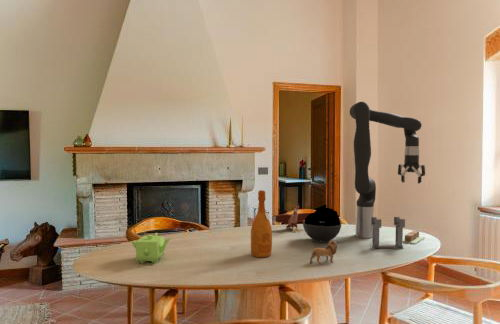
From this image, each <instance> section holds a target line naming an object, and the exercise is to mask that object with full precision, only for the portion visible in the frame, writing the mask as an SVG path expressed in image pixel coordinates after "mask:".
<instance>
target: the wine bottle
mask: <svg viewBox="0 0 500 324" xmlns="http://www.w3.org/2000/svg"><path fill="white" fill-rule="evenodd" d="M257 194H258V195H257V200H258V207H257V211H256V214H255V217H254V219H253V221H252V225H251V227H250V228H251V229H250V254H251V255H252V256H253V257H255V258H267V257H270V256H271V255H272V253H273V252H272V251H273V249H272V248H273V230H272V229H273V228H272V225H271V222H270V219H271V218H270V215H269V212H267V210H266V204H265V201H266V190H262V189H261V190H258V193H257Z"/></svg>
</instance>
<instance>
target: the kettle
mask: <svg viewBox="0 0 500 324" xmlns="http://www.w3.org/2000/svg"><path fill="white" fill-rule="evenodd" d="M172 239H173V238H170V237H169V238H166V239H165V236H164V235H158V232H155V233H154V234H147V235H143V236H142V237H140V238H139V239H138V240H137V241H136V240H132V241H130V243H131V245H132V246H133V247H134V249H135V261H136V262H137V261H138V262H139V264H144V263H146V262H151V263H152V264H157V263H158V261H159V260H161V259H162V257H163V256H164V254H165V250H166V248H167V245H168V242H170V240H172Z"/></svg>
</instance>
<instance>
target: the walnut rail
mask: <svg viewBox="0 0 500 324" xmlns="http://www.w3.org/2000/svg"><path fill="white" fill-rule="evenodd" d="M419 236H420V231H419V230H412V231H410V232H408V233H407V234H405V235H404V238H405V241H408V242H411V241H413V240H414V239H416V238H418V237H419Z"/></svg>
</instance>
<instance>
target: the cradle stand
mask: <svg viewBox="0 0 500 324" xmlns="http://www.w3.org/2000/svg"><path fill="white" fill-rule="evenodd" d="M393 217H394V218H393V226H395V244H380V229H381V228H382V219H381V218H378V217H377V216H374V217H371V225H372V226H373V237H372V238H371V239H372V241H371V242H372V245H371V249H373V250H387V249H388V250H389V249H390V250H392V249H395V250H396V249H398V250H399V249H404V246H403V242H402V239H403V238H404V237H403V235H404V234H403V230H404V229H403V228H405V227H406V219H405V218H401V217H400V216H393Z"/></svg>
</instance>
